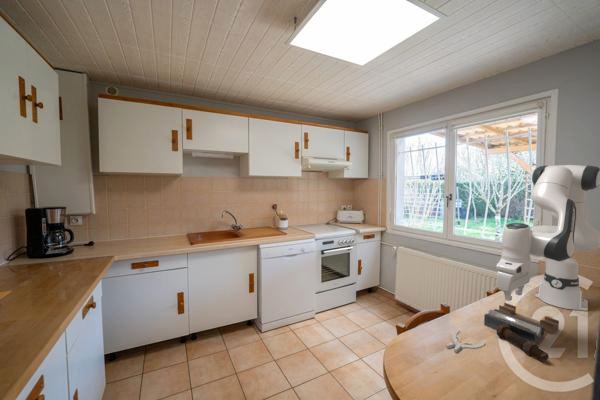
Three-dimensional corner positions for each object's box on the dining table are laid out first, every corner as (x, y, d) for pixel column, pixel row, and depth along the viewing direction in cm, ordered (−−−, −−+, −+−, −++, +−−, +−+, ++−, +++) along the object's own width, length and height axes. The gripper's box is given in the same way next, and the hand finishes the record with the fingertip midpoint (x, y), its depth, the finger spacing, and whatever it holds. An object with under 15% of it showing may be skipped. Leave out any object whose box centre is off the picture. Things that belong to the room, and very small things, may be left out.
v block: (495, 318, 109) (495, 308, 109) (544, 337, 96) (544, 326, 95) (484, 325, 104) (484, 314, 104) (533, 346, 91) (534, 334, 90)
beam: (504, 311, 116) (505, 302, 116) (558, 330, 101) (559, 320, 100) (498, 314, 113) (499, 305, 113) (553, 334, 98) (553, 324, 97)
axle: (488, 318, 106) (488, 310, 106) (492, 316, 108) (492, 308, 107) (537, 338, 92) (538, 329, 92) (541, 335, 94) (541, 326, 94)
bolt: (542, 368, 82) (499, 339, 97) (554, 360, 83) (509, 332, 97) (536, 355, 81) (494, 328, 96) (548, 346, 82) (504, 321, 96)
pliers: (486, 340, 92) (466, 355, 84) (485, 345, 92) (465, 359, 84) (457, 328, 100) (437, 339, 92) (457, 331, 100) (437, 343, 92)
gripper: (516, 257, 107) (515, 288, 108) (493, 266, 97) (492, 300, 98) (536, 261, 101) (534, 294, 102) (513, 270, 91) (512, 307, 92)
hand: (513, 297), depth 100 cm, fingers open, 8 cm apart
